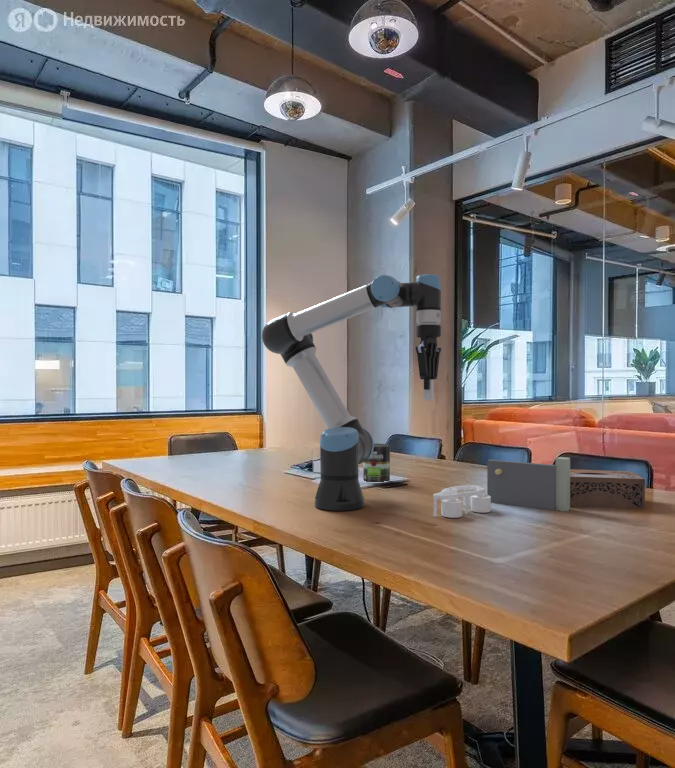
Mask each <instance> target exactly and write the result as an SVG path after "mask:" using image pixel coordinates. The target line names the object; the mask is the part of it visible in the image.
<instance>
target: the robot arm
mask: <svg viewBox="0 0 675 768" xmlns="http://www.w3.org/2000/svg"><path fill="white" fill-rule="evenodd" d="M441 301H442V288H441V277H440V276H439V275H438V274H433V273H425V274H419V275H417V276H416V280H415V281H413V282H400V281H398V280H397V279H396V278H395V277H393V276H392V275H388V274H381V275H378V276H376V277H375V278H374V279H373V281H371V282H369V283H367V284H364V285H362V286H360V287H358V288H354V289H352V290H349V291H348V292H345V293H342V294H340V295H336V296H334V297H333V298H331V299H330V298H329V299H328V300H326V301H323V302H321V303H318V304H316V305H312V306H311V307H309V308H306V309H303V310H301V311H298V312H296V313H294V312H292V311H289V312H287V313H284V314H281V315H280V316H277V317H275V318H273V319H270V320H269V321H268V322H266V324H265V325H264V327H263V329H262V332H261V339H262V343H263V345H264V346H265V348H266V349H267V350H268V351H269V352H272V353H273V354H274V353H275V354H276V355H280V356H281V358H282V360H283V362H284V363H285V365H286V366H287V367H290V368H293V370H294V372H295V373H296V375H297V377H298V379H299V380H300V383H301V384H302V386H303V388H304V389H305V391H306V393H307V395H308V397H309V398H310V401H312V404H313V405H314V407H315V408H316V410H317V412H318V414H319V416H320V417H321V419H322V421H323V423H324V425H325V427H326V429H325V430H322V432H321V434H320V440H319V446H320V447H319V459H320V461H319V462H320V463H319V464H320V465H319V467H320V481H319V484H318V487H317V489H316V494H315V497H314V506H315V508H316V509H320V510H325V511H332V512H333V511H337V512H339V511H342V512H343V511H353V510H355V511H356V510H359V509H362V508H364V506H365V497H364V495H363V491H362V487H361V484H360V481H359V465H361V464H363V462H365V461H366V460H367V459H368V458H369V457H370V456H371V454H372V452H373V449H374V444H375V442H374V437H373V436H372V434H371V433H370V432H369V431H368V430H367V429H365V428H363V426H362V425H361V423H360V421H359V419H358V417H355V416H352V415H350V413H349V411H348V409H347V408H346V406H345V404H344V403H343V400H342V399H341V397H340V395H339V394H338V392H337V390H336V388H335V386H334V385H333V383H332V382H331V380H330V379H329V377H328V374H327V373H326V371H325V370H324V369H325V368H323V367H322V365H321V362H320V361H319V359H318V357H317V356H316V353H317V347H316V345H315V343H314V335H313V333H316V332H318V331H320V330H323V329H326V328H328V327H330V326H333V325H335V324H338V323H341V322H344V321H345V320H348V319H351V318H354V317H355V316H358V315H360V314H364V313H365V312H368V311H371V310H373V309H376V308H378V307H380V308H390V309H393V308H403V307H404V308H406V307H416V318H415V319H416V321H415V322H416V324H417V325H416V328H415V329H416V334H415V335H416V337H417V338H419V339H420V340H419V344H418V346H415V351H416V357H417V363H418V364H417V365H418V372H419V373H418V374H419V377H420V378H419V379H420V380H423V401H431V402H432V401H435V399H434V397H435V396H434V395H435V394H434V391H435V390H434V387H435V386H434V383H435V382H434V380H438V374H439V364H440V363H439V362H440V355H441V351H442V348H441V347H439V346H438V341H437V338H440V337H441V336H442V329H441V328H442V325H441V323H442V321H441V320H442V318H441V317H442V315H443V314H442V313H441V312H442V311H441V307H442V302H441Z"/></svg>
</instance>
